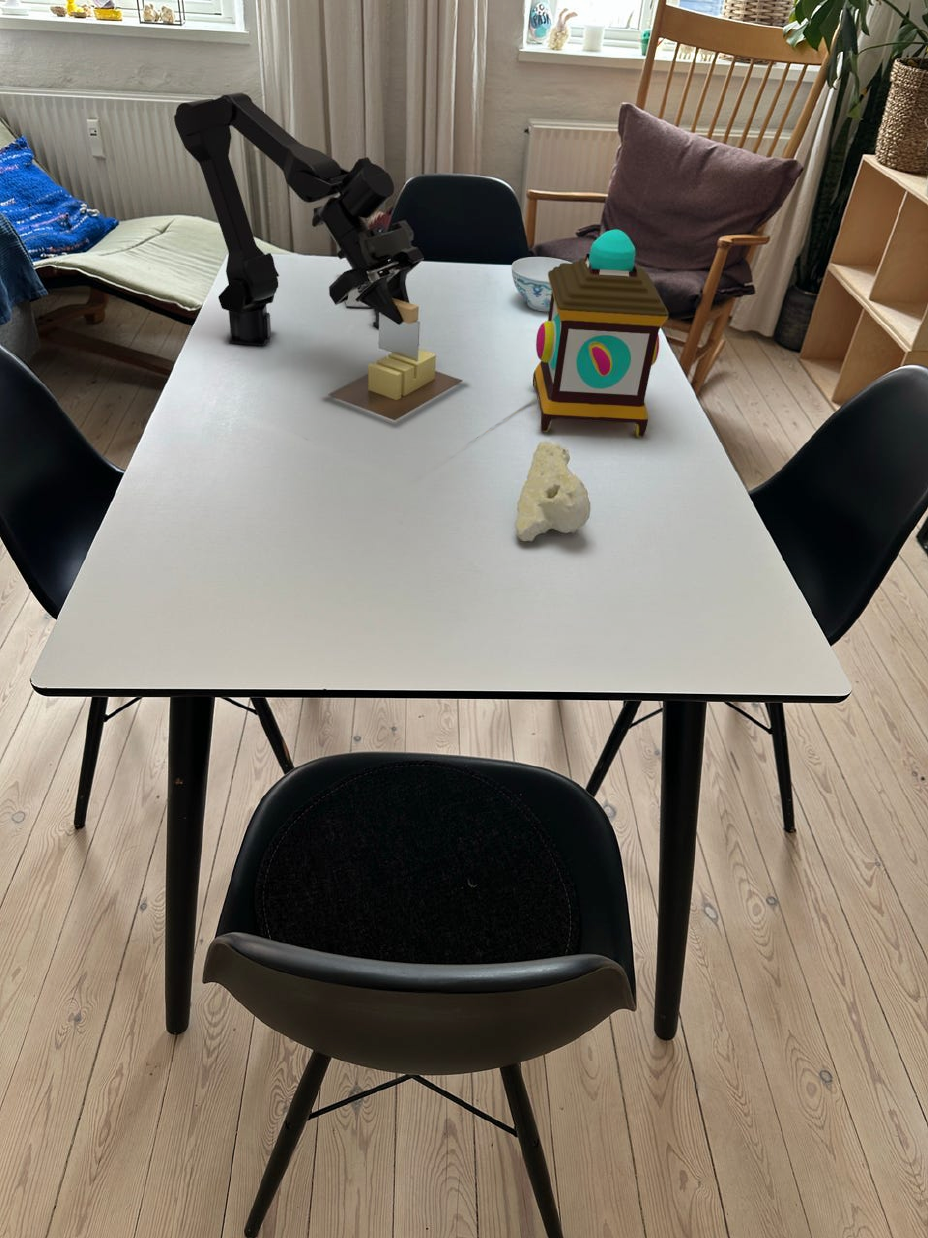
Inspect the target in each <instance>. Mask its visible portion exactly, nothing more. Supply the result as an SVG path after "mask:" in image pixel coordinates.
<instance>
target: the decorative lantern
mask: <svg viewBox="0 0 928 1238" xmlns="http://www.w3.org/2000/svg"><path fill="white" fill-rule="evenodd" d="M635 260H636V248H635V245H634V244H633V242H632V240H631V238H630V237H629V236H628V234H626V232H624V231H622V230H620V229H611V230H608V231H606V232H604V233H603V234H601V235H600V236H599V237H598V238H597V239H595V241H593V242H592V245H591V247H590V250H589V253H586V254H585V257H584V258H583V257H582V258H579V259H578V261H573V262H571V263H572V264H569V263H562V264H560V266H559V267H554V268H553V270H550V271H549V272H548V278H549V282H550V286H551V290H552V294H551V301H550V309H549V311H548V316H547V321H543V322H542V323H541V324H540V326H539V328H538V329H537V333H536V339H535V350H536V355H537V358H538V359H539V360H540V362H539V363H538V365H537V366H536V368H535V369H534V371H533V375H532V387H534V388H536V392H537V398H538V403H539V407H540V412H541V413H540V416H541V417H540V430H541V431H542V433H548V432H549V430H550V427H551V423H552V422H553V421H554V420H573V421H574V420H576V421H591V422H592V421H593V422H610V423H628V424H636V426H635V435H636V437H637V438H643V437H644V436H645V434H646V432H647V430H648V429H647V428H648V423H649V416H648V411H647V407H646V403H645V398H646V394H647V393H646V392H647V388H648V385H649V384H648V383H649V379H650V375H651V369H652V366H653V365H654V364H655V363H656V361H657V359H658V355H659V352H660V335H659V333H660V330H661V328H662V327H663V325H665V323H666V322H667V321H668V318H669V316H670V313H669V311H668V309H667V307H666V305H665V302H664V301H663V299H662V297H661V296H660V294H659V292H658V289H657V288H656V286H655V284H654V281H653V280H652V278H651V276H650V274H649V273H647V272H646V270H645V268H641V267H637V266H636V265H635Z"/></svg>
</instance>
